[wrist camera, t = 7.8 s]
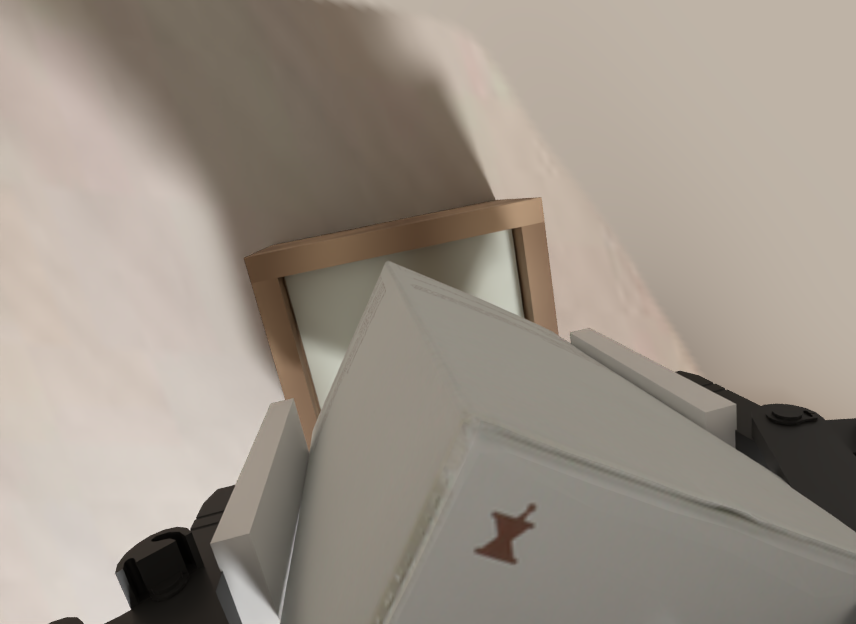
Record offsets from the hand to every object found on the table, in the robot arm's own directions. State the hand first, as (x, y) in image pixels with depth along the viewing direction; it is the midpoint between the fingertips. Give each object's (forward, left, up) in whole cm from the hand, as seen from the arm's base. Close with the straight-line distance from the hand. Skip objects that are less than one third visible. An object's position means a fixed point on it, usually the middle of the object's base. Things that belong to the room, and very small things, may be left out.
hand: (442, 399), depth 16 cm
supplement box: (0, 0, -2) cm, 2 cm away
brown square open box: (0, 0, -10) cm, 10 cm away
